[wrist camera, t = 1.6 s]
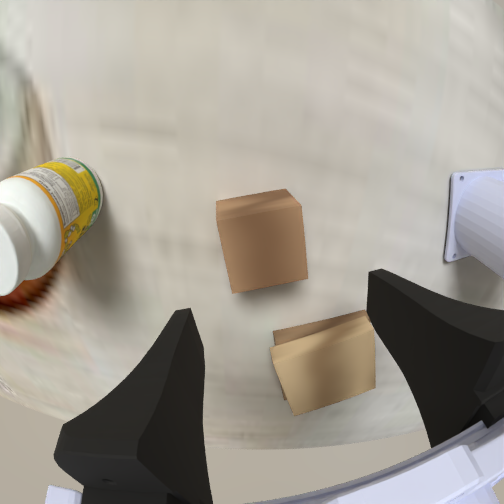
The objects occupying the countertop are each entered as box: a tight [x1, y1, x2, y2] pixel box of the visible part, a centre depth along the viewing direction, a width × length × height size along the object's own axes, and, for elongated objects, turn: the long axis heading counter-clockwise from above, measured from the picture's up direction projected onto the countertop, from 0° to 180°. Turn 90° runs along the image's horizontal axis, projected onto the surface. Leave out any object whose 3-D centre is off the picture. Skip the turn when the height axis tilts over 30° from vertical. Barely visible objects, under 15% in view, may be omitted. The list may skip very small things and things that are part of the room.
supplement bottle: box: [0, 157, 103, 296], centre depth 13 cm, size 5×5×10 cm
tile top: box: [270, 316, 375, 416], centre depth 24 cm, size 8×8×2 cm
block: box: [216, 189, 308, 294], centre depth 19 cm, size 4×4×4 cm
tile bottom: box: [273, 310, 370, 400], centre depth 26 cm, size 8×8×2 cm
